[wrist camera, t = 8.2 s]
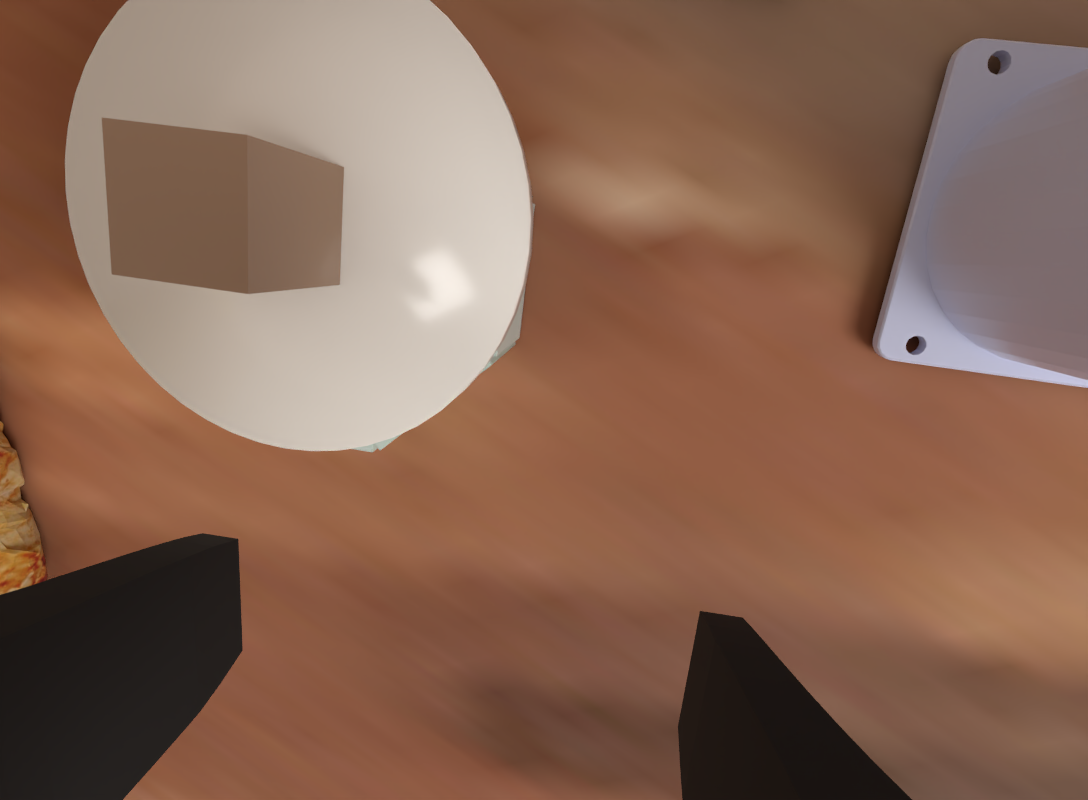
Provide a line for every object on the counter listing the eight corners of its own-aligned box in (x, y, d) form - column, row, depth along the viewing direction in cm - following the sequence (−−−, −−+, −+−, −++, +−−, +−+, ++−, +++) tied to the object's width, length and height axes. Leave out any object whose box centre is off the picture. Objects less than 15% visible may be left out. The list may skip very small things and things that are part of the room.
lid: (563, -20, 12) (536, -164, 8) (505, 472, 15) (463, 554, 11) (77, -64, 13) (-173, -214, 9) (109, 407, 16) (-69, 459, 12)
